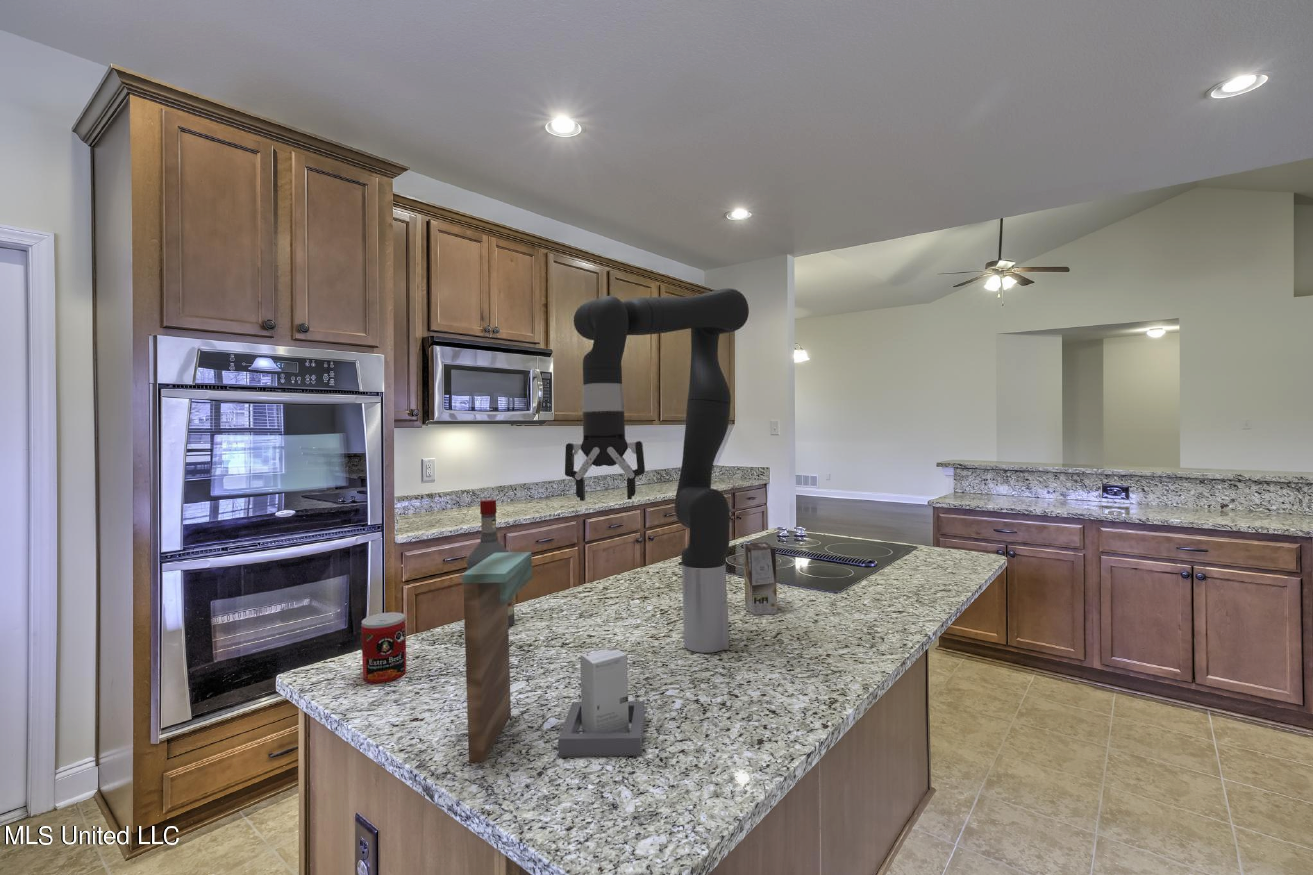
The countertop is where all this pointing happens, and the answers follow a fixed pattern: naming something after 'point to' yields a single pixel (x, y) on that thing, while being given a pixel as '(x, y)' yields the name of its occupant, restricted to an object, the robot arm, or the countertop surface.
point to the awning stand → (490, 645)
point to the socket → (602, 735)
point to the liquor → (489, 544)
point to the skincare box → (604, 692)
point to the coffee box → (760, 578)
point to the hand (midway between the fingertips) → (606, 499)
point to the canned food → (383, 647)
